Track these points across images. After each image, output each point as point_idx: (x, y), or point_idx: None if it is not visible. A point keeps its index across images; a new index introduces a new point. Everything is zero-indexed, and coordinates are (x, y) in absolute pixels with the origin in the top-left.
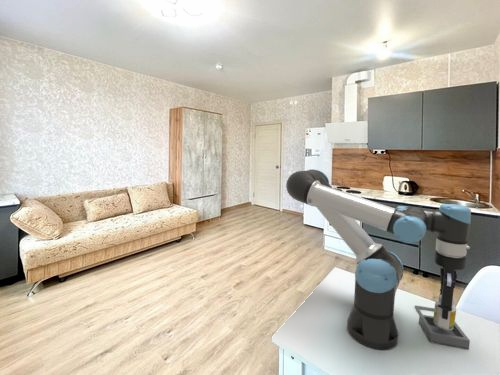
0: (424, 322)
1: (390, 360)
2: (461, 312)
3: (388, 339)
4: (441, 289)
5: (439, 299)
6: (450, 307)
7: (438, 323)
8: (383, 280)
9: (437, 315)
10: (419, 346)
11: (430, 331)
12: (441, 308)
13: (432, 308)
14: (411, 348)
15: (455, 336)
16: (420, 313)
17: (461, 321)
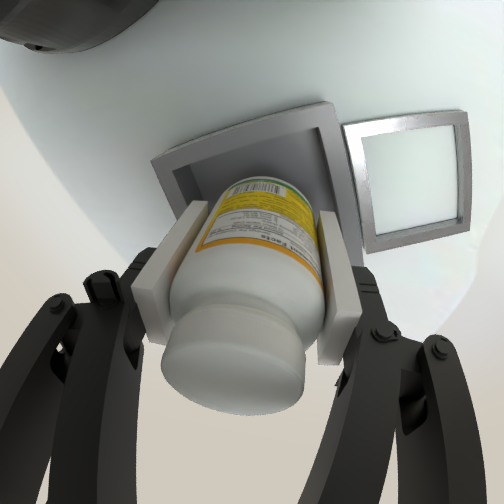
0: (243, 126)
1: (20, 71)
2: (467, 288)
3: (21, 44)
4: (346, 414)
5: (196, 323)
6: (58, 359)
7: (188, 208)
8: None
9: (210, 219)
10: (117, 114)
11: (168, 156)
12: (55, 297)
13: (468, 193)
14: (90, 94)
15: None
16: (403, 121)
17: (414, 280)
